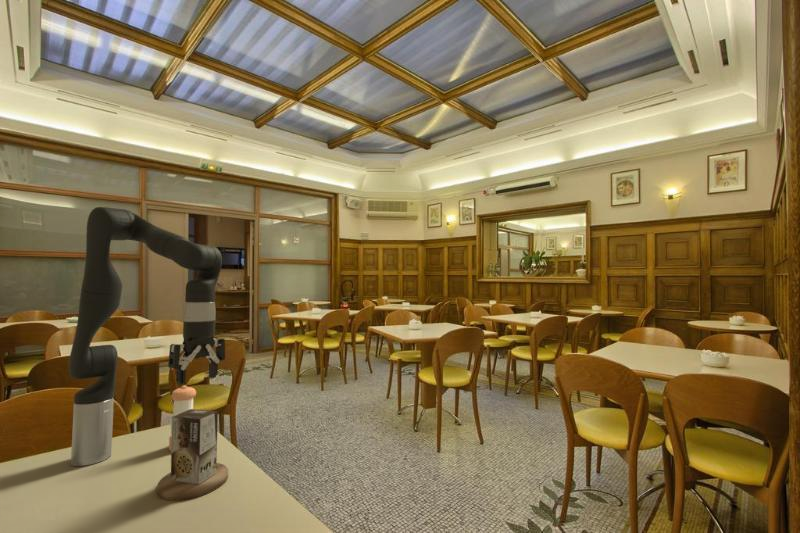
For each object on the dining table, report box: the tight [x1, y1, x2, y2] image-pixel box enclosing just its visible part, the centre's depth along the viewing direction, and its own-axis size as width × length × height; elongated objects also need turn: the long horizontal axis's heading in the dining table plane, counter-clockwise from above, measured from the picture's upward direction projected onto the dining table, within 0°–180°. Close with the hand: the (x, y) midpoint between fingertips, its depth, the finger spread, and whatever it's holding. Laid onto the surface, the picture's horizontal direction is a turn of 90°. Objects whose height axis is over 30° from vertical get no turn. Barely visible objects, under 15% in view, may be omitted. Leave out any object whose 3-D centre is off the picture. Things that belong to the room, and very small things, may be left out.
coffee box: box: [170, 408, 219, 484], centre depth 96 cm, size 9×6×16 cm
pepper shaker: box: [168, 384, 197, 452], centre depth 118 cm, size 7×7×19 cm
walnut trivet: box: [156, 462, 229, 501], centre depth 95 cm, size 16×16×2 cm
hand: (197, 380), depth 97 cm, fingers open, 8 cm apart
